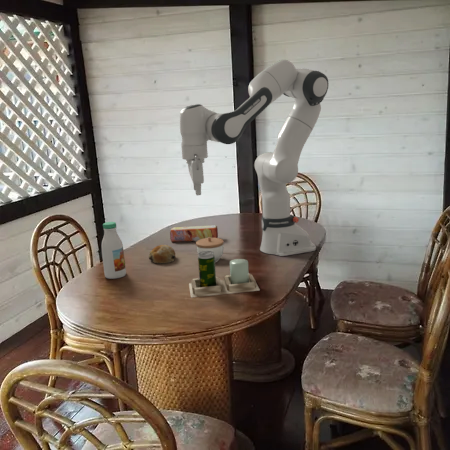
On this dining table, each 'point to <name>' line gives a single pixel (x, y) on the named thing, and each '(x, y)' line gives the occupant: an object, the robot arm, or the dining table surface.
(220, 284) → the caddy
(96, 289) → the dining table surface
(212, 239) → the lidded jar
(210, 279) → the beer can
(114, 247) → the milk bottle
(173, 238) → the snack package
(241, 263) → the mint green domed part
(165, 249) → the bread roll
